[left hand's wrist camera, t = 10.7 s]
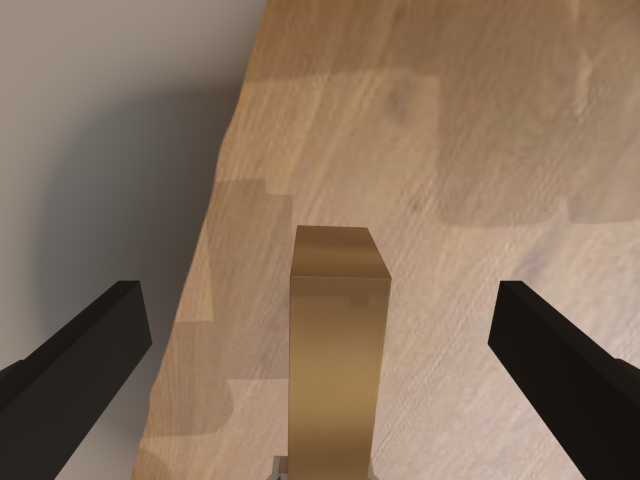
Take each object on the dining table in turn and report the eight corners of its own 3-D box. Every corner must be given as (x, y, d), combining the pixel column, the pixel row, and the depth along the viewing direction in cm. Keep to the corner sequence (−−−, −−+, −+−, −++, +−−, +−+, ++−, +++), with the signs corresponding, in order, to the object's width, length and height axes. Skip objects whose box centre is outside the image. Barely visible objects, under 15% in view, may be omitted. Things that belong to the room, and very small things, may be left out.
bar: (297, 225, 24) (290, 275, 17) (367, 227, 25) (392, 278, 17) (292, 465, 32) (286, 575, 25) (345, 466, 33) (356, 575, 25)
